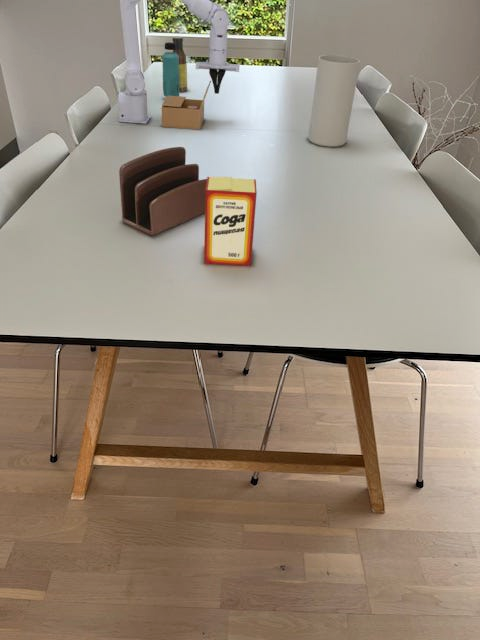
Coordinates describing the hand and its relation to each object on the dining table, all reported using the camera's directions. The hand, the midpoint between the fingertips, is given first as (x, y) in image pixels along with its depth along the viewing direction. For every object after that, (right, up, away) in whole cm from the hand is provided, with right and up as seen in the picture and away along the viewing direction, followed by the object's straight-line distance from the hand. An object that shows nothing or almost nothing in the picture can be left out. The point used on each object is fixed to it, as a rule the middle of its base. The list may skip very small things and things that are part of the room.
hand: (216, 92), depth 185 cm
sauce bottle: (-17, +17, +38) cm, 45 cm away
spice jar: (-9, -10, +1) cm, 13 cm away
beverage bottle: (-19, +8, +26) cm, 33 cm away
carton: (-12, -10, +1) cm, 15 cm away
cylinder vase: (+37, -19, -6) cm, 42 cm away
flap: (-4, -2, -5) cm, 6 cm away
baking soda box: (+5, -65, -73) cm, 98 cm away
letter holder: (-9, -54, -59) cm, 81 cm away
